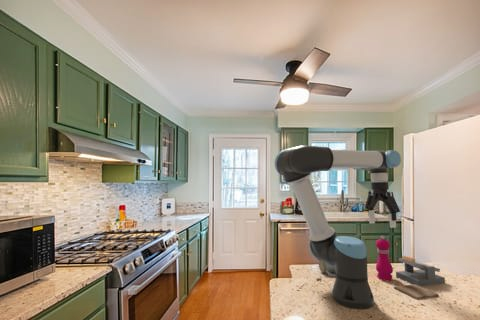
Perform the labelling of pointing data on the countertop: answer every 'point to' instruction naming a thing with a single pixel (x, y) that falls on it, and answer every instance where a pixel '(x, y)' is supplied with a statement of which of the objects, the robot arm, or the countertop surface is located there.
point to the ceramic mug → (327, 268)
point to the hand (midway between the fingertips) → (382, 225)
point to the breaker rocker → (415, 263)
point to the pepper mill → (383, 260)
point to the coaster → (416, 291)
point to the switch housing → (420, 276)
